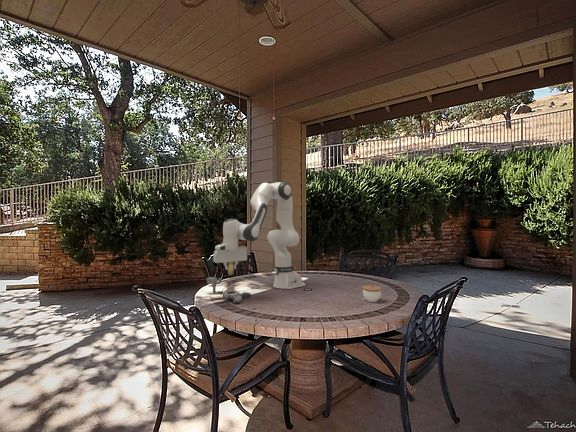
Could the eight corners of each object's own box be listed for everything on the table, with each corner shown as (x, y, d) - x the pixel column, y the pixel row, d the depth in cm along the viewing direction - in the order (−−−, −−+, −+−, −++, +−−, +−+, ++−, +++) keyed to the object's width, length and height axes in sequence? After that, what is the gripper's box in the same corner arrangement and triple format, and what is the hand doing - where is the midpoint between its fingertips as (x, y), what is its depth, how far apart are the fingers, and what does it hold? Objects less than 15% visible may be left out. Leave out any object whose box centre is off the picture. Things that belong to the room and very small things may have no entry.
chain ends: (247, 294, 211) (247, 288, 211) (257, 301, 197) (257, 294, 197) (222, 298, 203) (222, 291, 203) (231, 305, 189) (231, 298, 189)
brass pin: (232, 273, 203) (232, 260, 203) (234, 274, 200) (234, 261, 200) (227, 274, 201) (227, 260, 201) (229, 275, 199) (229, 261, 198)
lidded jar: (382, 303, 190) (382, 287, 189) (362, 302, 192) (362, 286, 191) (380, 298, 200) (380, 282, 200) (362, 297, 202) (362, 282, 202)
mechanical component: (220, 294, 212) (220, 278, 212) (205, 293, 214) (205, 278, 214) (222, 293, 215) (222, 277, 215) (207, 292, 217) (207, 277, 217)
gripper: (244, 244, 208) (245, 266, 209) (212, 246, 198) (212, 269, 199) (248, 245, 203) (248, 268, 203) (215, 247, 193) (215, 271, 193)
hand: (230, 269), depth 201 cm, fingers closed on brass pin, 3 cm apart
